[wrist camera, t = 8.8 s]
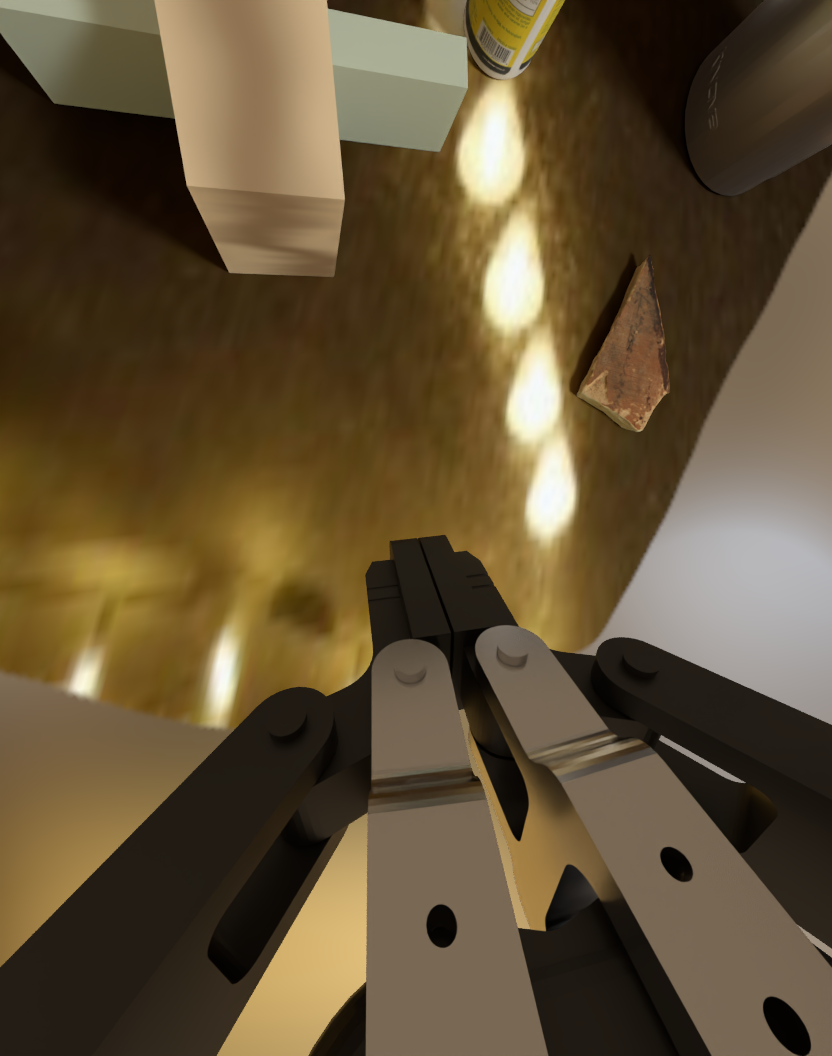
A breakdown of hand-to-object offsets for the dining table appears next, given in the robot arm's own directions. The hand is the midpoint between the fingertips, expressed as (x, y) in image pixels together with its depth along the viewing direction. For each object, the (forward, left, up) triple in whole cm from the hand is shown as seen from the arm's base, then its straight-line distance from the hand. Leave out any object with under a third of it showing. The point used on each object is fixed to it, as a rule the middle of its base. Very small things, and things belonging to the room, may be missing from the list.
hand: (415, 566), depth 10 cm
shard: (-21, -8, -18) cm, 29 cm away
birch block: (+3, -17, -17) cm, 24 cm away
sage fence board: (+3, -21, -17) cm, 28 cm away
